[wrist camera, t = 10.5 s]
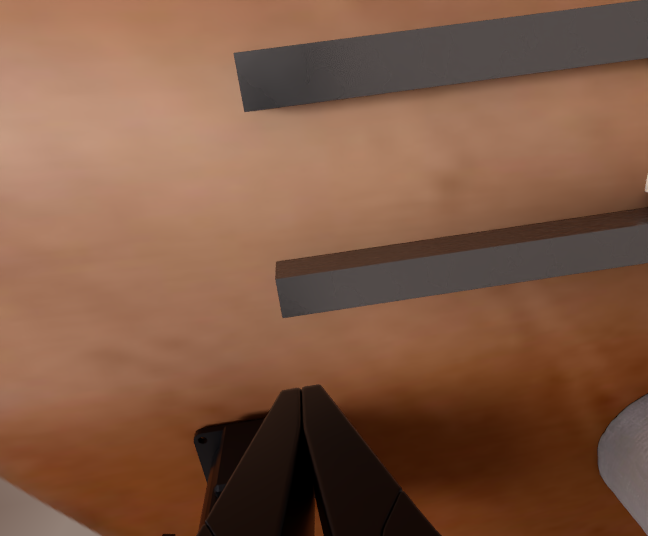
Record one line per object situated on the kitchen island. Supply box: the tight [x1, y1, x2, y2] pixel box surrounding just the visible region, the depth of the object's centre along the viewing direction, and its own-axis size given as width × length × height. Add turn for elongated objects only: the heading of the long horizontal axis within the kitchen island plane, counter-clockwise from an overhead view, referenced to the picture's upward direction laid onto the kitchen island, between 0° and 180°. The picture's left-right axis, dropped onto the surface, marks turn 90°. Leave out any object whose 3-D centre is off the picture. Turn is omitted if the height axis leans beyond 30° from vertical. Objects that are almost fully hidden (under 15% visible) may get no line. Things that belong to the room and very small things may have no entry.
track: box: [234, 0, 648, 318], centre depth 17 cm, size 11×28×5 cm, turn 97°
